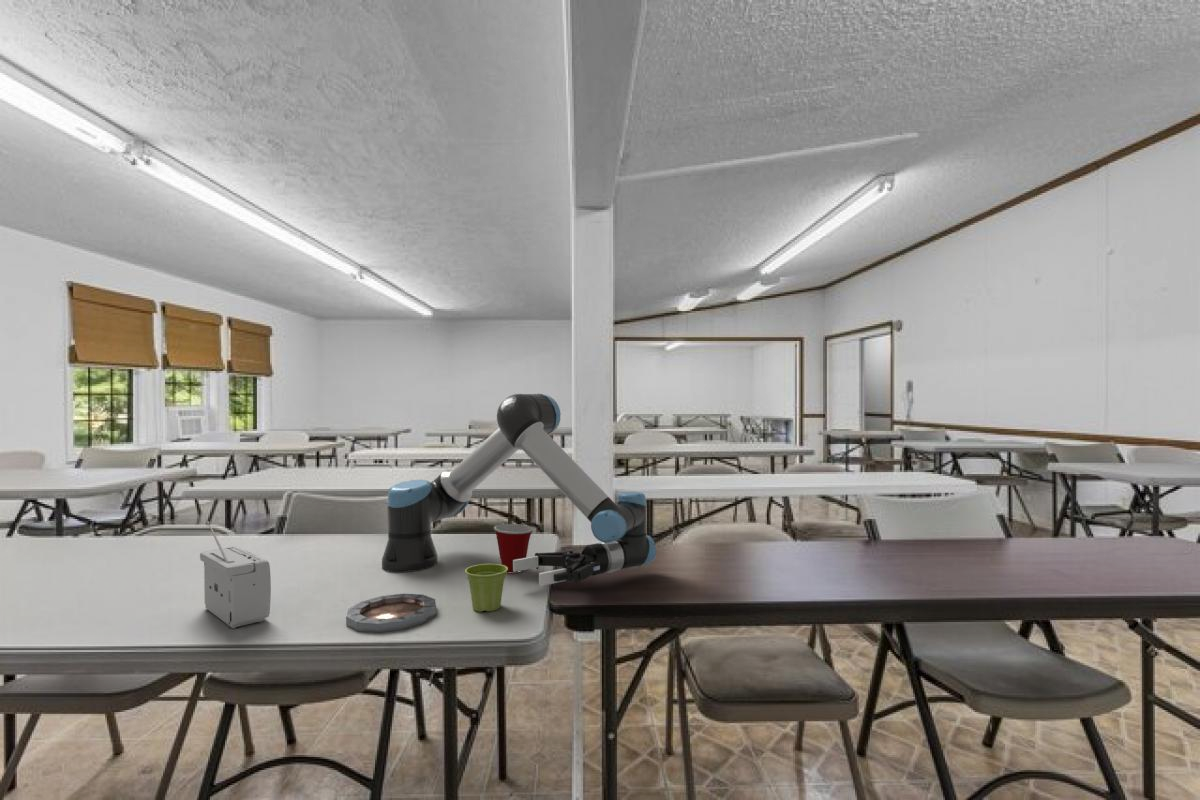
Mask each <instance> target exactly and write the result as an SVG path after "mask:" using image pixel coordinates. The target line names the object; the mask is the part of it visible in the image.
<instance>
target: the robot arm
mask: <svg viewBox="0 0 1200 800" xmlns="http://www.w3.org/2000/svg"><path fill="white" fill-rule="evenodd" d="M496 421H497V426H498V427H497V429H495V431H494V432H492V433H491V435H489V436H488V437H487V438H485V439H484V441H482V443H480V445H478V446H477V447H476V448H475V449H474V450H473V451H471V452H470V453H469V454H468V455H467V456H466V457H465V458H464V459H463V460H462V461H461V462H460V463H459V464H457V466H455V467H454V468H453V469H446V470H444V471H443V472H441V473H440V475H438V476H437V477H435V479H433V480H432V481H431V482H430V481H428V480H426V479H411V480H405V481H401V482H398V483H395V484H393V485H392V486H390V488H389V489H388V492H387V501H386V503H387V531H388V532H387V533H388V535H387V542H386V546H385V549H384V552H383V555H382V559H381V568H382V569H383V570H385V571H388V572H396V573H398V572H400V573H402V572H404V573H405V572H406V573H407V572H415V571H421V570H425V569H426V570H427V569H429V568H432V567H434V566H436V565H437V564H438V563H439V561H438V559H439V557H438V555H439V554H438V553H437V550H436V546H435V544H434V541H433V538H432V523H434V522H436V521H441V520H443V519H448V518H449V519H450V518H453V517H455V516H457V515H459V514H461V513H462V512H463V511H464V510H465V509H466V508H467V506H468V505H469V502H470V500H471V499H472V496H473V491H474V490H475V489H476V488H477V487H478V486H479V485H480V484H482V482H484V481H485V480H486V479H487V478H489V477H490V476H491V475H492V474H493V473H494V472H495V471H496V470H497V469H499V468H500V467H501V466H502V465H503V464H504V463H505V462H506V461H508V459H510V458H511V457H512V456H513V455H514V454H515V453H516V452H517V451H519V450H520V451H522V452H524V453H525V454H526V455H527V456H528V458H530V460H532V462H533V463H534V464H535V465H536V466H537V467H538V468H539V469H540V470H541V471H542V472H543V474H545V475H546V476H547V478H549V480H550V481H551V482H552V483H553V484H554V485H555V486H556V487H557V488H558V489H559V491H561V492H562V493H563V495H564V496H565V497H567V499H568V500H569V501H570V502H571V503H572V504H573V505H574V506H575V507H576V508H577V509H578V510H579V511H580V512H581V514H583V516H585V518H586V519H587V520H588V521H589V522H590V529H591V533H592V535H593V536H594V538H595V539H596V540H598V541H599V543H597V542H596V543H593V544H587V545H585V546H584V548H583V549H582V552H581V553H580V552H574V551H573V550H568V551H567V550H566V551H556V552H555V551H552V552H535V553H534V556H529V557H526V558H522V559H516V560H513V571H514V572H517V571H521V572H523V571H528V570H531V569H532V570H533V569H536V570H538V569H539V568H540V567H562V568H558V569H553V570H549V571H544V572H539V573H538V586H540V587H543V586H549V585H553V584H557V583H562V582H566V581H567V582H572V581H573V583H575V584H577V583H580V582H581V581H583V580H585V579H587V578H589V577H591V576H592V577H593V576H597V575H603V574H605V573H606V574H607V573H610V574H613V573H614V572H616V571H620V570H621V571H622V570H625V569H629V568H630V569H631V568H636V567H637V568H640V567H642V566H646V565H648V564H650V563H652V562H654V561H655V559H656V555H657V547H656V546H655V541H654V539H653V538H652V537H651V536H650V535H648V534H647V502H646V495H645V493H644V492H641V491H622V492H620V493H618V494H617V497H616V499H617V501H616V503H615V502H614V501H613V499H612V498H610V496H608V494H606V493H605V492H604V490H603V489H602V488H601V487H600V486H599V485H598V484H597V483H596V482H595V481H594V480H593V479H592V478H591V477H590V476H589V475H588V474H587V473H586V472H585V471H584V469H582V468H581V466H579V464H577V463H576V461H574V460H573V458H572V457H570V455H569V454H568V453H567V452H566V451H565V450H564V449H563V448H562V447H561V446H560V445H559V444H558V443H557V442H556V441H555V440H554V439H553V438H552V437H551V436H550V434H551V433H554V432H555V430H557V429H558V427H559V426H560V424H561V409H560V406H559V405H558V403H557V401H556V400H555V399H554V398H553V397H551V396H549V395H547V394H543V393H526V394H525V393H515V394H511V395H509V396H508V397H506V398H505V399H503V400H502V401H501V403H500V404H499V406H498V408H497V411H496ZM522 570H523V571H522Z"/></svg>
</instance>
